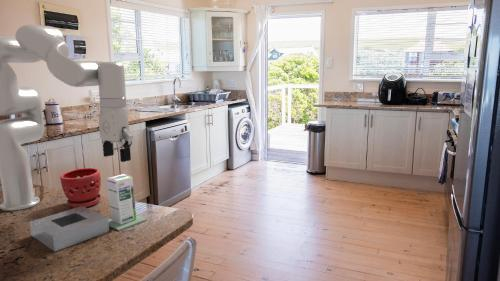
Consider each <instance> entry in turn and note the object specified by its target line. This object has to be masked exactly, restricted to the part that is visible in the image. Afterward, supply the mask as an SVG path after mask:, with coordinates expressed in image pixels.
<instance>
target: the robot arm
mask: <svg viewBox="0 0 500 281" xmlns="http://www.w3.org/2000/svg"><path fill="white" fill-rule="evenodd" d="M14 34H15V35H14V36H7V35H6V36H3V35H0V116H4V117H5V116H6V117H7V116H13V115H14V116H15V115H21V117H14V118H13V117H12V118H7V119H2V120H1V119H0V182H1V189H2V196H3V202H1V203H0V210H2V211H6V212H7V211H10V212H11V211H13V212H14V211H19V210H25V209H29V208H32V207H34V206H36V205H38V204H39V203H40V197H38V196H35V191H34V185H33V178H32V176H33V175H32V169H31V164H30V163H31V162H30V157H29V154H28V152H27V151H26V150H25V148H23V147H22V145H24V144H29V143H31V142H32V143H33V142H37V141H39V140H41V139H42V137H44V134H45V123H44V122H45V121H44V114H43V103H42V99H41V96H40V94H39V93H38V91H37V90H36V89H34V88H33V87H30V86H19V85H18V84H19V83H18V76H17V73H16V72H15V70H14V69H13V68H12V66H11V65H9V64H10V63H11V64H12V63H16V64H17V63H19V64H20V63H22V64H24V63H25V64H26V63H29V64H31V63H37V62H40V61H43V62H45V63H46V66H47V69H48V71H49V73H50V74H51V75H52V77H55V79H57V80H59V81H60V82H62V83H64V84H65V85H68V86H70V87H75V88H84V87H97V86H98V94H99V95H98V96H99V106H100V108H99V116H98V120H99V121H98V125H99V129H98V131H99V137H100V139H101V143H102V153H103V157H104V158H105V157H111V156H114V155H115V154H114V153H115V152H114V143H118V145H119V147H120V148H119V158H120V159H119V160H120V162H121V163H124V162H129V161H131V160H132V156H131V148H132V144H133V138H134V135H133V134H132V132H130V123H129V116H128V112H127V108H128V107H127V96H126V95H127V94H126V79H125V78H126V77H125V67H124V66H125V65H124V64H123V63H122V62H119V61H101V60H100V61H99V60H73V59H71V58H69V56H70V47H69V45H68V44H67V43H66V42H65V38H64V35H63V33H62V32H61V30H59V29H58V28H56V27H54V26H50V25H42V24H41V25H40V24H23V25H22V26H20V27H18V28H17V29H16V31H15V33H14Z"/></svg>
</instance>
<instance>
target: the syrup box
mask: <svg viewBox="0 0 500 281" xmlns="http://www.w3.org/2000/svg"><path fill="white" fill-rule="evenodd" d="M106 183H107V184H106V185H107V191H108V192H107V193H108V201H109V210H110V217H111V218H110V219H111V220H112V221H113V222H116V223H118V224H120V225H122V224H124V223H127V222H129V221H132V220H135V219H136V215H137V211H136V202H135V190H134V181H133V176H132V175H129V174H125V173H122V174H119V175H115V176H111V177H107V178H106Z"/></svg>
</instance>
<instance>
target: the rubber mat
mask: <svg viewBox="0 0 500 281" xmlns="http://www.w3.org/2000/svg"><path fill="white" fill-rule="evenodd" d="M146 221H148V220H147V218H145V217H142V216H140V215H137V214H136V219H135V220H132V221H129V222H127V223H124V224H122V225H120V224H118V223H116V222H113V221H112V220H111V218H108V224H109V228H111V229H114V230H115V231H118V232H121V231H123V230H126V229H128V228H131V227H133V226H136V225H139V224H142V223H144V222H146Z"/></svg>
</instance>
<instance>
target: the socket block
mask: <svg viewBox="0 0 500 281" xmlns="http://www.w3.org/2000/svg"><path fill="white" fill-rule="evenodd" d="M108 219H109V217H107V216H105V215H102V214H101V213H99V212H97V211H94V210H92V209H90V208H89V207H83V206H81V207H77V208H75V207H73V208H71V209H68V210H64V211H61V212H58V213H54V214H50V215H48V216H44V217H41V218H37V219H33V220H31V221H29V228H30V235H31V237H32V238H34V239H35V240H37V241H39V242H40V243H41V244H43V245H44V246H46V247H47V248H48V249H50V250H52V251H53V252H58V251H62V250H64V249H66V248H67V249H68V248H69V247H72V246H75V245H76V244H80V243H83V242H85V241H88V240H91V239H93V238H96V237H98V236H101V235H104V234H107V233H109V232H110V227H109V224H108Z"/></svg>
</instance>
